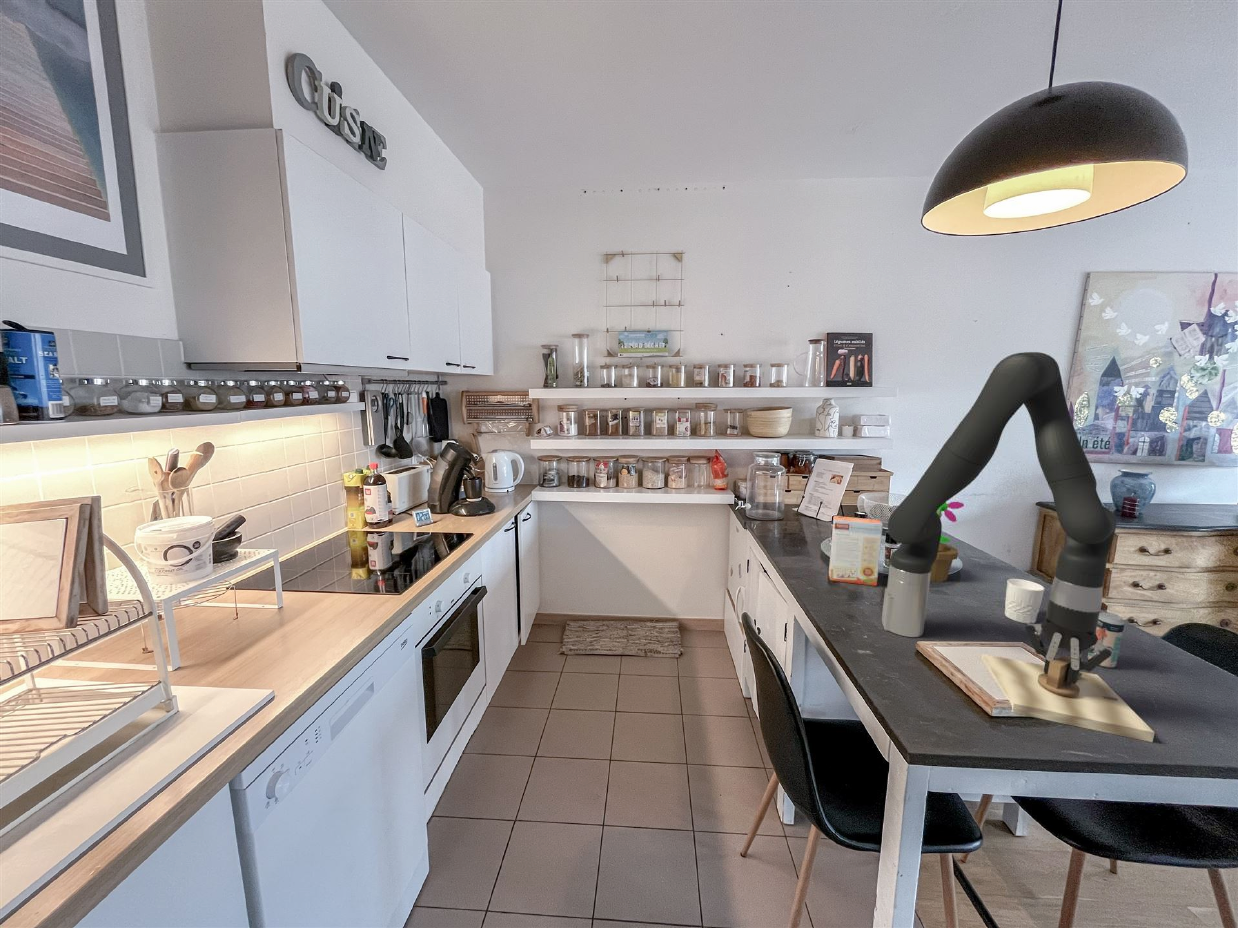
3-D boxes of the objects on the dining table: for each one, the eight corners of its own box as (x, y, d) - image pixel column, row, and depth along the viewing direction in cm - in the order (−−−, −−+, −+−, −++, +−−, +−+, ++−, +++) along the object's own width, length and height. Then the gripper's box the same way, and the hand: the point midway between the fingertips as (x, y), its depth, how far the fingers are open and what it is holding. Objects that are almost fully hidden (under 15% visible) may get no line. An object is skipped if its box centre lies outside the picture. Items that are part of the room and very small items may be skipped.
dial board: (1012, 712, 96) (1014, 702, 95) (980, 661, 113) (982, 653, 113) (1152, 742, 88) (1154, 731, 88) (1095, 682, 106) (1097, 673, 105)
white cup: (1039, 617, 135) (1045, 584, 133) (1037, 628, 129) (1043, 593, 128) (1003, 608, 140) (1008, 576, 139) (1000, 617, 135) (1006, 584, 133)
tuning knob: (1069, 700, 96) (1074, 672, 95) (1031, 682, 102) (1036, 656, 101) (1098, 684, 101) (1104, 658, 100) (1061, 668, 107) (1065, 643, 106)
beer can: (1086, 654, 117) (1095, 608, 115) (1113, 662, 114) (1123, 615, 112) (1088, 663, 113) (1097, 616, 111) (1117, 671, 110) (1127, 622, 108)
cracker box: (873, 579, 160) (880, 518, 156) (876, 587, 154) (884, 524, 150) (827, 573, 164) (833, 514, 160) (829, 580, 158) (835, 519, 155)
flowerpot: (959, 576, 163) (972, 490, 158) (947, 588, 154) (959, 496, 149) (913, 564, 174) (923, 483, 169) (898, 574, 165) (908, 488, 160)
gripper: (1025, 594, 100) (1012, 670, 103) (1120, 620, 89) (1103, 704, 92) (1034, 585, 105) (1022, 658, 108) (1126, 609, 94) (1109, 689, 97)
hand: (1059, 679), depth 100 cm, fingers closed on tuning knob, 2 cm apart
